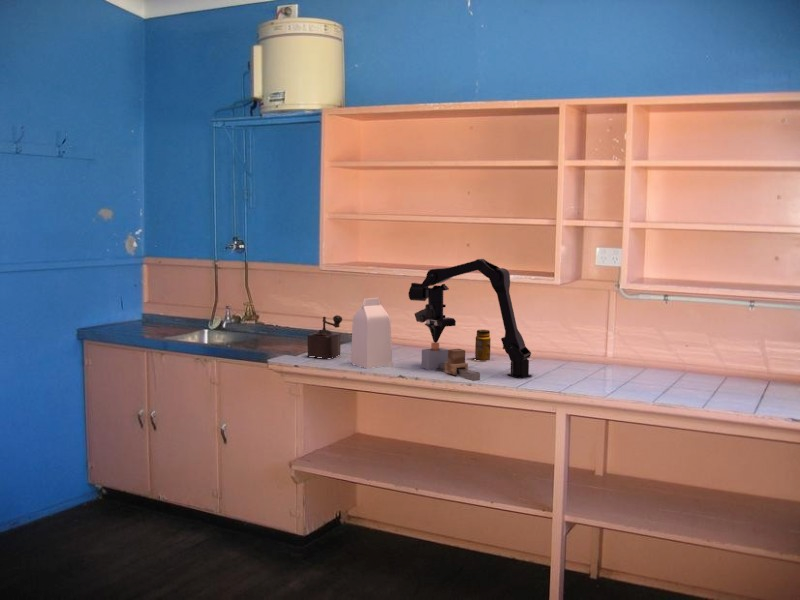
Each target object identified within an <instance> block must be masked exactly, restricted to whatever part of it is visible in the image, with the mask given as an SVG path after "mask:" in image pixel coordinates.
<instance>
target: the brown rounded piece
mask: <svg viewBox="0 0 800 600" xmlns="http://www.w3.org/2000/svg"><path fill="white" fill-rule="evenodd" d="M430 345H431V347H430V349H431V350H432V351H438V350H439V348H440V342H437V343H435V342H431V344H430Z"/></svg>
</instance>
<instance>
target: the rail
mask: <svg viewBox="0 0 800 600" xmlns="http://www.w3.org/2000/svg"><path fill="white" fill-rule="evenodd" d="M435 371H436V372H444V373H446V372H445V363H439V364H438V368H437V369H435ZM455 376H457V377H460V378H464V379H467V380H471V381H479V380H481V372H479V371H475V370H471V369H469V368H468V369H465V368H461V367H460V368H457V375H455Z"/></svg>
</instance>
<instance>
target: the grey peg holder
mask: <svg viewBox="0 0 800 600" xmlns="http://www.w3.org/2000/svg"><path fill="white" fill-rule="evenodd" d="M448 350H449V349H447V348H444V347H439V350H438V351H432V350H431V348H427V349H421V368H422V369H424V368H425V369H424V370H427V369H428V371H432V370H431V369H433V370H436V369H437V368H438V364H439V363H445V362H448Z"/></svg>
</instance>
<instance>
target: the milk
mask: <svg viewBox="0 0 800 600" xmlns="http://www.w3.org/2000/svg"><path fill="white" fill-rule="evenodd" d="M351 328H352V329H351V330H352V331H351V349H350V351H351V353H350V364H351V363H352V364H355V365H358V366H357V367H359V366H361V367H360V368H363V367H365V368H364V369H366V368H369V369H373V368H372V367H377V368H379V367H378V366H385V367H387V366H386V365H392V366H393V365H394V363H393V349H392V348H393V347H392V344H393V343H392V327H391V318H390V315H389V314H388V313H387V311H386V309H385V308H384V307H383V305H382V303H381V300H380V298H379V297H369V298H364V299H363V302H362V305H361V306H360V307H359V309H357V311H356V312H355V313H354V315H353V317H352V327H351ZM352 364H351V365H352ZM355 365H354V366H355Z"/></svg>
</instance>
